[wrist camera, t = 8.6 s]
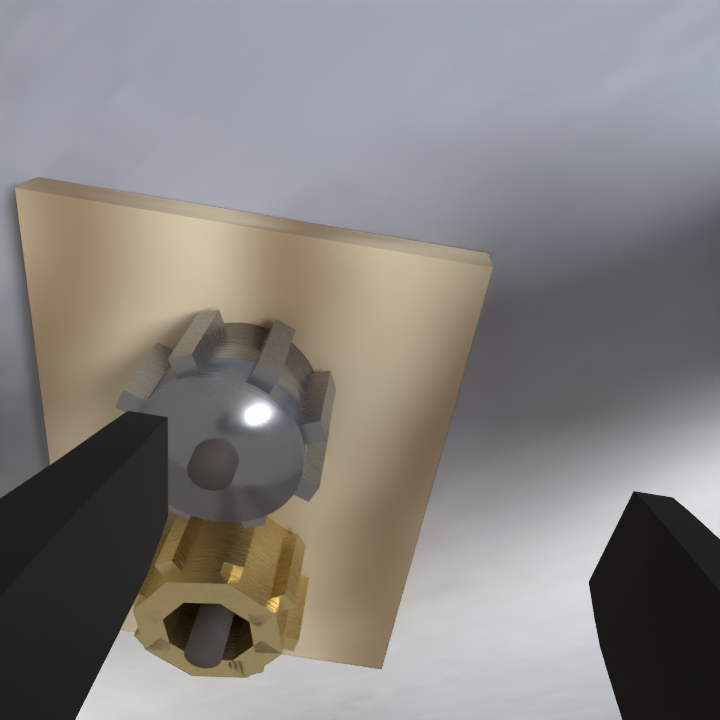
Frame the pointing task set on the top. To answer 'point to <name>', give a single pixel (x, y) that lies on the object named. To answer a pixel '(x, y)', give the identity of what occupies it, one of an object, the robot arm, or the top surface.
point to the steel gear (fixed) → (238, 415)
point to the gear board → (312, 337)
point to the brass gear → (224, 592)
